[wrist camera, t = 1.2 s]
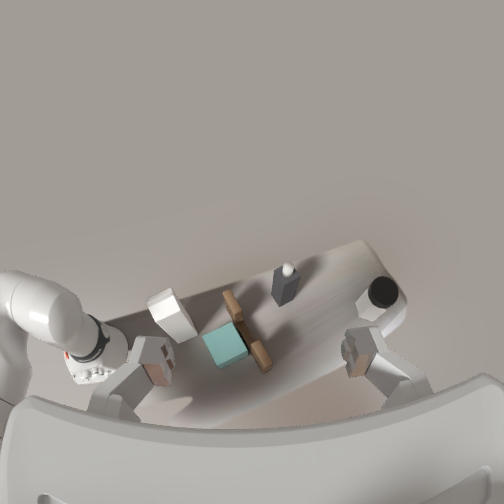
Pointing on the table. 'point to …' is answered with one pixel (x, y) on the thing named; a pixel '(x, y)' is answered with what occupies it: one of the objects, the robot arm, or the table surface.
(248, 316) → the table surface
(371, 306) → the jar
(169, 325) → the milk
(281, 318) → the table surface
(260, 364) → the brown notched panel
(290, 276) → the grey capped bottle
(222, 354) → the teal block
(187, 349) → the table surface
